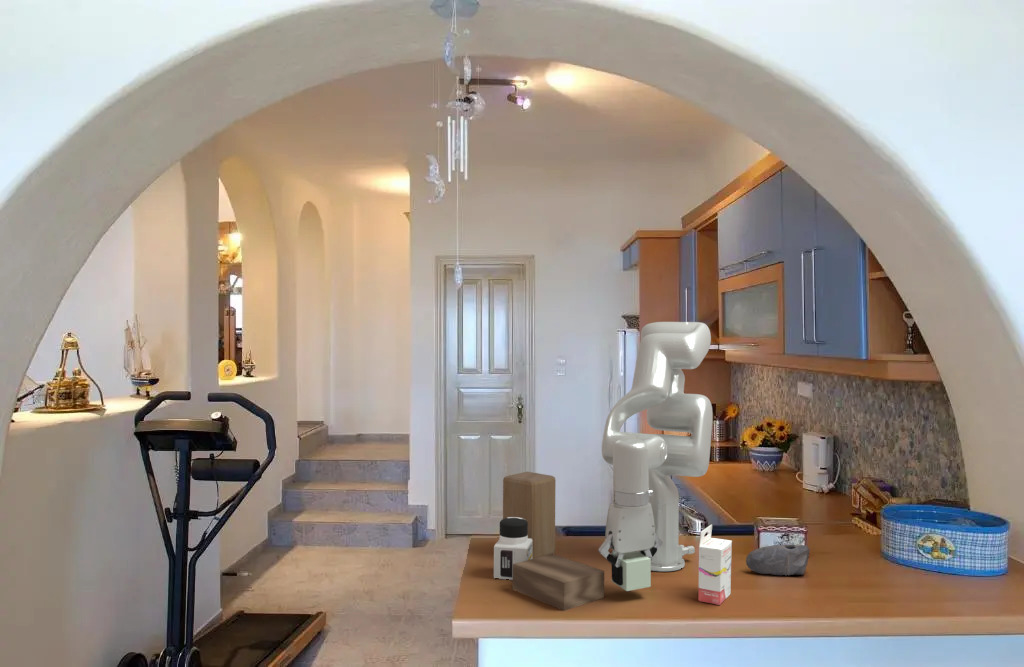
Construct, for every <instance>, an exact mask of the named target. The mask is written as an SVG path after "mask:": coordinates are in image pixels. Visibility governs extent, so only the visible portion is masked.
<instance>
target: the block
mask: <svg viewBox="0 0 1024 667" xmlns="http://www.w3.org/2000/svg"><path fill="white" fill-rule="evenodd" d="M508 517H519V518H522V519H525V520H526V521H527V522H528V538H530V539H532V540H533V544H532V559H534V558H538V557H542V556H546V555H550V554H555V551H556V477H555V476H553V475H550V474H545V473H544V474H543V473H540V472H539V473H538V472H531V471H524V472H523V471H522V472H519V473H515V474H510V475H505V476H504V477H503V480H502V519H505V518H508Z"/></svg>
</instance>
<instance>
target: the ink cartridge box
mask: <svg viewBox="0 0 1024 667" xmlns="http://www.w3.org/2000/svg"><path fill="white" fill-rule="evenodd" d="M712 530H713V524H710V525H708V526H707V527H706V528H704V529H703V530H701V531H700V537H699V544H698V593H697V594H698V595H697V596H698V601H699V602H702V603H708V604H713V605H718V606H721V605H722V603H723V602H724V601H725V600H726V599H727V598H728V597H729V596H730V595H731V592H732V591H731V590H732V589H731V587H732V586H731V585H732V584H731V582H732V581H731V580H732V578H731V577H732V549H733V548H732V544H733V540H729V539H722V538H715V537H712ZM706 534H707V535H706Z"/></svg>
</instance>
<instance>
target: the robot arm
mask: <svg viewBox="0 0 1024 667" xmlns="http://www.w3.org/2000/svg"><path fill="white" fill-rule="evenodd" d="M711 341H712V336H711V330H710V328H709V327H708V325H707V324H706V323H704V322H699V321H656V322H650V323H647V324H645V325H644V326H643V327H642V328H641V331H640V341H639V345H638V351H637V356H636V361H635V367H634V373H633V379H632V385H631V389H630V390H629V391H628V392H627V393H626V394H624V395H623V396H622V397H621V398H619V400H618V401H617V402H616V403H615V404H614V406H613V407H612V408H611V410H610V411H609V413H608V415H607V418H606V421H605V425H604V431H603V435H602V440H601V455H602V458H603V460H604V461H605V462H606V463H607V464H609V465H611V466H612V503H610V504H609V506H608V511H607V515H606V522H605V534H604V535H605V538H604V539H605V540H604V541H603V543H602V544H601V545H600V546H599V548H598V553H599V554H600V555H602V557H604V559H606V560H607V561H608V562H609V563H610V565H611V580H612V579H613V582H615V583H616V584H618V585H622V584H623V568H622V567H621V566H620V565H621V562H622V559H623V556H624V553H630V552H636V551H637V552H639V553H641V554H643V555H644V556H646V557H648V558H650V559H651V571H653V572H674V571H679V570H682V569H683V568H684V567H685V565H686V564H685V562H686V561H685V559H684V558H683V557H684V556H685V555H693V554H694V553H695V552H696V549H695V547H694V546H693V545H687V546H685V545H684V544H679V529H680V528H679V522H680V519H679V514H680V512H679V510H680V504H679V502H680V497H679V496H680V495H679V490H678V487H677V485H676V484H675V482H674V481H673V479H672V478H671V476H679V477H680V476H681V477H690V478H691V477H693V478H698V477H699V478H700V477H702V476H704V475H706V474H707V472H708V469H709V466H710V465H709V464H710V457H711V447H712V446H711V444H712V435H713V434H712V432H713V406H712V402H711V401H710V398H708V397H707V396H706V395H704V394H698V393H685V381H686V377H685V374H684V371H683V370H695V369H696V368H698V367H699V366H700V365H701V363H702V362H703V360H704V359H705V357H706V356H707V354H708V352H709V350H710V347H711V344H712V342H711ZM642 411H646V422H647V425H648V426H649V427H650V428H652V429H653V430H656V431H663V432H664V431H665V432H673V433H674V432H677V433H689V434H690V436H688V435H677V434H664V433H663V434H661V433H660V434H659V433H640V432H627V431H621V428H622V426H623V425H624V423H625V422H626V421H627V420H628V419H630V417H632V416H634V415H635V414H638V413H640V412H642ZM609 549H610V550H611V549H612V550H611V553H610V551H609ZM681 568H682V569H681ZM613 582H612V583H613ZM615 583H614V584H615ZM616 584H615V585H616ZM618 585H617V586H618Z"/></svg>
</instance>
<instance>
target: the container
mask: <svg viewBox="0 0 1024 667" xmlns="http://www.w3.org/2000/svg"><path fill="white" fill-rule="evenodd" d="M532 544H533V540H532V539H530V538H528V522H527V521H526V520H525V519H522V518H519V517H508V518H505V519H503V518H502V519H501V520H500V522H499V539H498V541H497V542H496V543H495V544H494V546H493V579H495V578H499V579H498V580H506V579H509V580H508V581H513V564H515V563H519V562H523V561H527V560H530V559H532Z"/></svg>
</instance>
